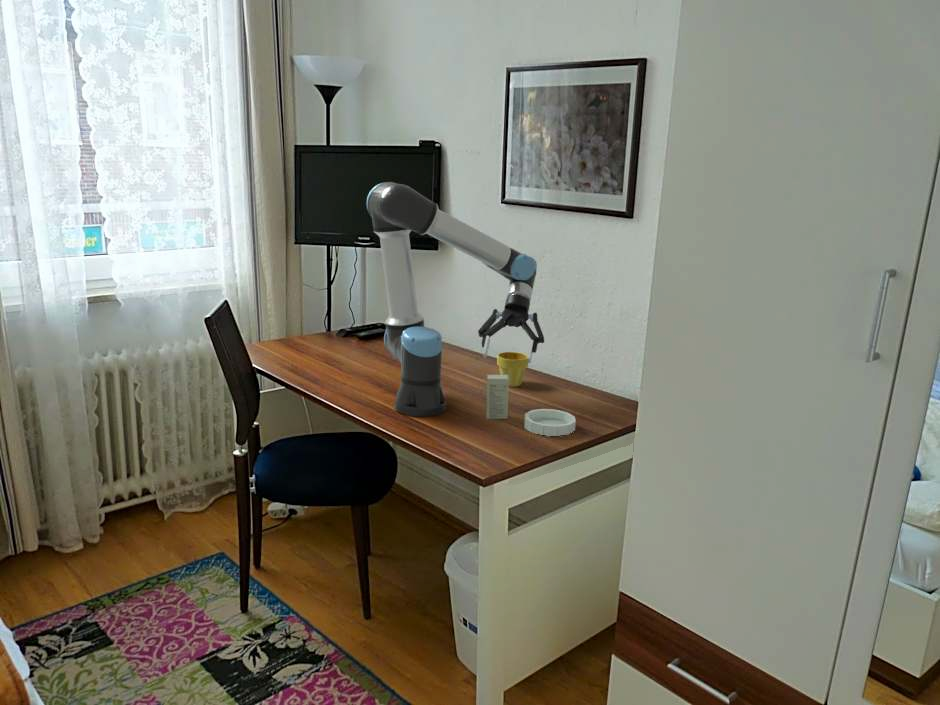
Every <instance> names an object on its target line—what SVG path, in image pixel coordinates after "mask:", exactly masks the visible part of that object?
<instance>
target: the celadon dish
mask: <svg viewBox="0 0 940 705" xmlns="http://www.w3.org/2000/svg"><path fill="white" fill-rule="evenodd" d="M576 425H577V421H576V417H575V415H573V414H571V413H570V412H567V411H563V410H559V409H551V408H540V409H539V408H538V409H531V410H529V411H528V412H525V413H524V424H523V426H524V427H523V428H524V429H525V430H526V431H528V432H529V431H530V432H529V433H531V432H532V433H531V434H534V433H535V434H534V435H537V434H540V435H539V436H541V435H546V436H545V437H550V436H560V435H566V434H570V433H572V432H573V431H575V432H576ZM573 433H574V432H573ZM573 433H572V434H573ZM570 435H571V434H570ZM560 437H561V436H560Z"/></svg>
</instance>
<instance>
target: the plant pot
mask: <svg viewBox="0 0 940 705" xmlns="http://www.w3.org/2000/svg"><path fill="white" fill-rule="evenodd" d="M527 358H528V354H526V353H523V352H519V351H503V352H499V353H498V354H497V357H496V365H497V366H498V369H499V375H508V377H509V387H513V388H514V387H519V386H521V385H522V382H523V379H524V377H525V376H524V375H525V372H526V368H528V367H529V363H528V359H527Z"/></svg>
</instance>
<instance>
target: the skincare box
mask: <svg viewBox="0 0 940 705" xmlns="http://www.w3.org/2000/svg"><path fill="white" fill-rule="evenodd" d="M509 387H510V386H509V377H508V375H500V374H486V400H485V401H486V403H485V406H486V407H485V416H486V419H488V420H493V419H494V420H498V419H499V420H506V419H507V420H508V418H509V391H510V390H509Z"/></svg>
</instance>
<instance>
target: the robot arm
mask: <svg viewBox="0 0 940 705" xmlns="http://www.w3.org/2000/svg"><path fill="white" fill-rule="evenodd" d="M366 209H367V212H368V214H369V216H370V217H371V220H372V228H373V233H375V234H376V235H377V236H378V237H379V242H380V249H381V250H380V252H381V257H382V265H383V267H382V268H383V272H384V273H383V274H384V282H385V288H386V289H385V290H386V297H387V305H388V306H387V307H388V312H389V314H388V317H387V318H386V320H384V321H385V322H384V323H385V332H384V336H383V342H384V346H385V348H386V350H387V352H388V353H389V355H390V356H391V357H392V358H394V359H395V360H396V361H398V363H400V366H401V367H400V368H401V369H400V370H401V371H400V374H401V376H400V384H399V387H398V390H397V393H396V397H395V399H394V410H395V411H396V412H397V413H399V412H400V413H399V414H402V413H403V415H405V414H406V415H405V416H412V417H433V416H437V415H439V414H442V413H444V412H446V409H447V401H446V396H445V393H444V390H443V387H442V360H443V359H442V358H443V356H442V355H443V348H444V347H443V337H442V335H441V333H440V332H439V331H438V330H436V329H434V328H429V327H427V326H425V320H424V319H425V318H424V316H423V315H422V314H421V313H419V312H418V302H417V293H416V284H415V276H414V268H413V258H412V249H411V241H410V233H411V232H415V233H417V234H418V235H420V236H423V235H426V234H427V235H428V236H430V237H432V238H434V239H437V240H439V241H440V242H442V243H444V244H445V245H448V246H450V247H452V248H453V249H456V250H458V251H460V252H462V253H464V254H466V255H468V256H470V257H472V258H473V259H474V260H475V259H476V260H478V261H479V262H481V263H482V264H484V266H486V267H487V268H489V269H491V270H493V271H494V272H496V273H497V274H498V275H501V276H502V277H504V278H505V279H507V280H508V281H509V286H508V290H507V294H506V300H505V305H504V309H503V310H502V311H498V309H497V308H494V309H493V310H492V314H491V315H490V316H489V317H488V319H487V320H486V321H485V322H484V323H483V325H481V327H480V328H479V329H478V330H477V333H478V337H480V338H482V340H481V347H482V348H483V349H482V357H483V359H485V360H486V359H487V357H488V351H489V347H490V344H491V343H490V342H491V337H492V336H493V335H495V334H496V333H498V332H499V331H500V330H502V329H504V328H506V327H507V326H508V327H510V328H511V327H514V328H519V327H521V328H522V330H524V332H525V333H526V335H527V336H528V337H529V338H530V341H529V342H530V343H529V348H528V354H527V355H528V358H527V359H528V364H532V357H533V353H534V354H536V353H537V351H538V350H537V349H538V345H539V344H544V343H545V337H544V333H543V330H542V328H541V326H540V322H539V321H538V318H539V317H538V312H533V313H532V314H529V312H530V311H529V310H530V305H531V301H532V295H533V290H534V286H535V280H536V276H537V268H538V265H537V264H538V263H537V260H535V259H534V257H532V256H529V255H527V254H526V253H521V252H520V251H518V250H515V249H514V248H511V247H510V246H508V245H506V244H504V243H503V242H501V241H499V240H497V239H495V238H493V237H491V236H490V235H488V234H486V233H484V232H482V231H480V230H479V229H476V228H475V227H473V226H471V225H470V224H467V223H466V222H463V221H462V220H459V219H457V218H456V217H454V216H453V215H450V214H448V213H447V212H444V211H442V210H441V209H439V205H438V203H436V202H434V201H432V200H430V199H429V198H427V197H426V196H424V195H422V194H421V193H419V191H416V190H415V189H413V188H412V187H410V186H408V185H406V184H402V183H396V182H393V181H386V182H381V183H379V184H378V183H377V184H376V185H375V186H374V187H372V189H371V190H369V193H368V195H367V197H366ZM499 318H500V319H499ZM498 319H499V321H497V320H498ZM528 320H530V321H531V322H532V323H533V326H534V328H535V331H536V334H537V335H536V334H535V332H534V331H533V330H532V328H531V327H530V326H529V324H528V322H527V321H528ZM496 321H497V322H496ZM495 322H496V323H495Z"/></svg>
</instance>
